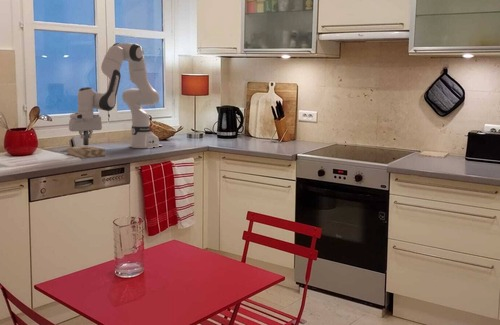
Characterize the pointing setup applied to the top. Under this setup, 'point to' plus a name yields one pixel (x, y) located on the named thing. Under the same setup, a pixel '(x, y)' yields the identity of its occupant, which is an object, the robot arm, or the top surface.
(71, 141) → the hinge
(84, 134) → the peg
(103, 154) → the hole block
